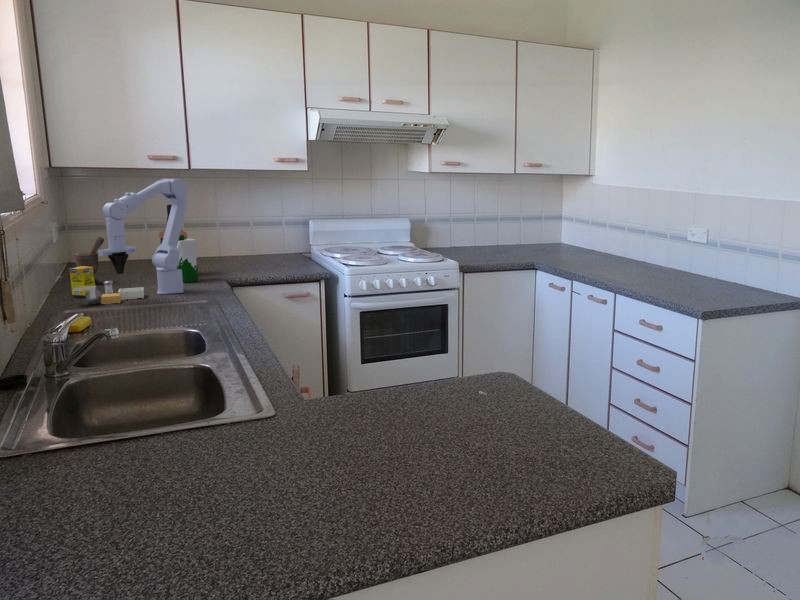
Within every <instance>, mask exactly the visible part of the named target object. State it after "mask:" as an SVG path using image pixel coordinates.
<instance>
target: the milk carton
mask: <svg viewBox="0 0 800 600" xmlns="http://www.w3.org/2000/svg"><path fill="white" fill-rule="evenodd" d="M197 242H198V239H194V238H187V239H184V235H180V236H179V240H178V244H177V249H178V250H179V252H180V253H179V265H178V267H177V269H182V280H183V283H184V284H186V283H185V282H189V283H193V282H192V281H196V282H199V281H200V280H199V279H200V278H199V268H198V266H199V265H198V254H197V253H198V252H197V244H198V243H197Z"/></svg>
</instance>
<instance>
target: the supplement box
mask: <svg viewBox="0 0 800 600" xmlns="http://www.w3.org/2000/svg"><path fill="white" fill-rule="evenodd" d="M69 276H70V287H71V294H72V295H71V296H72V297H73V298H86V294H87V293H88V292H89V290H83V291H74V288H75V287H80V286H96V284H95V281H94V277H95V275H94V271H93V267H85V266H80V267H77V266H75V267H71V268H69Z"/></svg>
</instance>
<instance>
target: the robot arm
mask: <svg viewBox="0 0 800 600" xmlns="http://www.w3.org/2000/svg"><path fill="white" fill-rule="evenodd" d="M187 191H188V186H187V184H186V183H185V181H184V180H183V179H181V178H162V179H160V180H156V181H155V182H154V183H152V184H150V185H149V186H147V187H145V188H143V189H142V190H140V191H139V192H137V193H135V192H129V191H128V192H125V193H124V195H123V196H120V197H119V198H115V199H113V202H106V203H105V204H104V206H103V208H102V210H101V214H102V216H103V217H104V219H105V222H106V223H105V225H106V233H107V235H106V236H107V243H108V248H105V249H98V250H97V253H98V257H104V256H107V257H108V259H109V260H110V262H111V263H112V265H113V267H114V270H115V274H116V275H117V274H118V275H122V274H124V271H125V267H126V262H127V260H128V258H129V253H133V252H134V253H137V251H138V250H137V245H136V246H134V245H132V246H127V244H126V242H127V241H126V231H125V221H124V218H125V217H126V215H127V214H129V213H130V212H132V211H134V210H136V209H137V208H139V207H141V206H142V202H143V201H145V200H148V199H150V198H152V197H154V196H157V195H158V194H162V196H164V197H165V198H166V199H167V200H168V201H169V203H170V205H172V207H171V211H170V215H169V218H168V222H167V221H166V227H165V229H166V230H165V229H164V230H165V234H164V238H163V242H162V244H161V243H160V245H159V246H157V248H156V251H155V253H154V254H153V255H152V258H151V262H152V264H153V266H154V267H155V270H156V279H157V291H156V293H157V295H165V294H166V295H168V294H169V295H170V294H180V293H181V294H182V293H184V288H185V285H184V284H185V283H183V280H182V269H177V267H178V265H179V253H180V252H179V250H178V249H177V244H178V240H179V236H180V232H181V229H182V228H183V224H184V219H185V216H186V211H187V209H188V205H189V204H188V195H187Z"/></svg>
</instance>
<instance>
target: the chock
mask: <svg viewBox="0 0 800 600" xmlns="http://www.w3.org/2000/svg"><path fill="white" fill-rule="evenodd" d="M101 295H102V296H101V301H100V302H101V305H102V304H105V305H112V304H111V303H119V304H121V302H122V300H121V295H120V293H118V292H117V294H105V293H103V294H101Z"/></svg>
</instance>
